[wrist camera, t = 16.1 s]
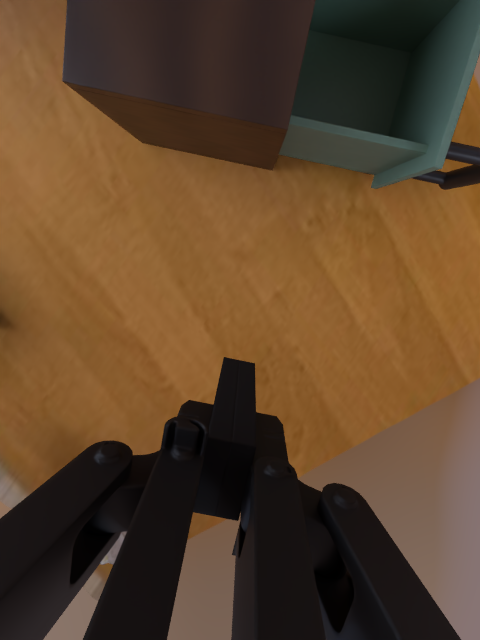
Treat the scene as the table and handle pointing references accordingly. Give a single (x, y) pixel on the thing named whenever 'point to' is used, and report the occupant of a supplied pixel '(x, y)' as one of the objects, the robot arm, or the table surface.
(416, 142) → the green drawer
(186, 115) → the box
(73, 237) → the table surface
